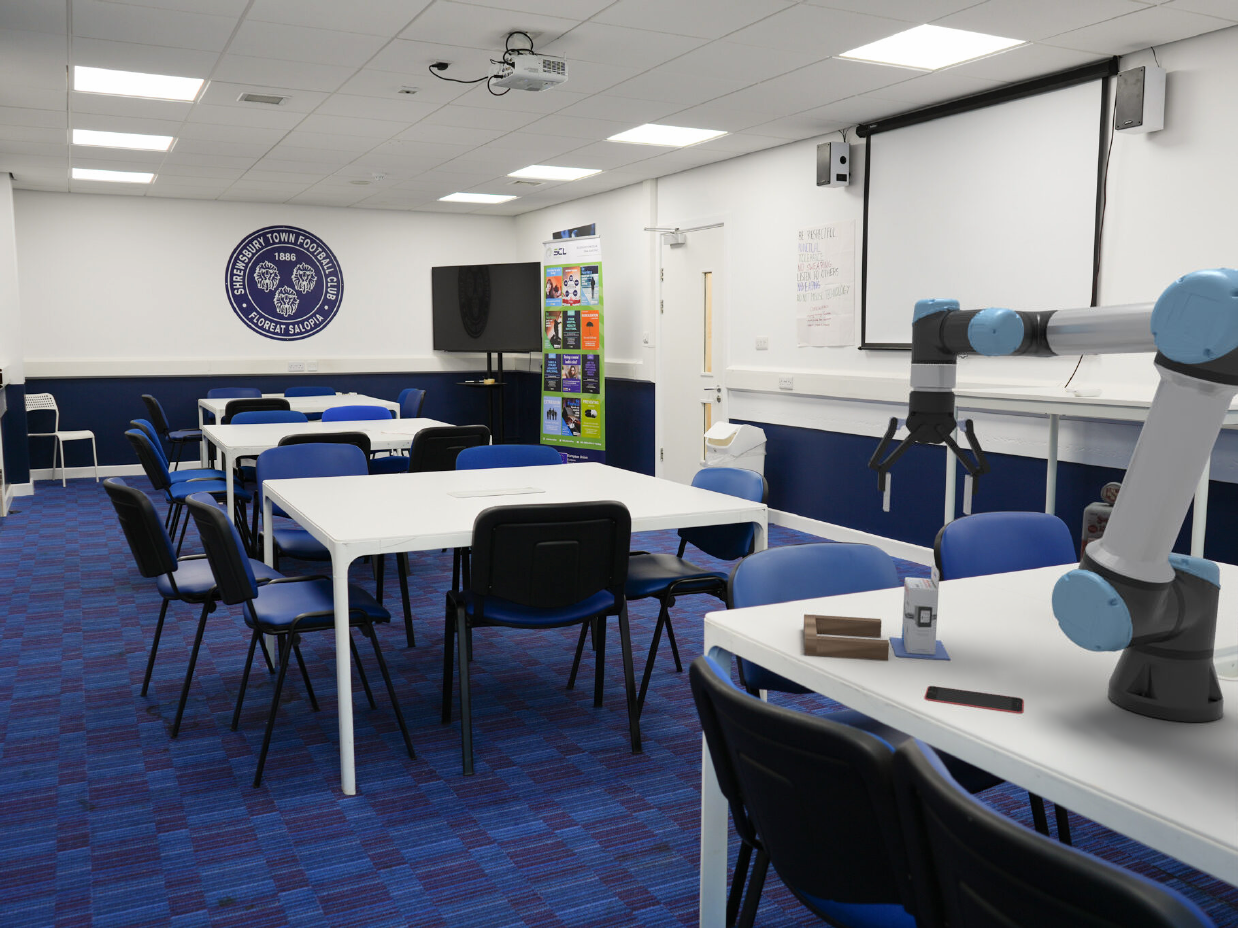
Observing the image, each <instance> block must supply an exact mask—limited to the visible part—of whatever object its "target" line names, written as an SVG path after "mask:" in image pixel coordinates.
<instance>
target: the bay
mask: <svg viewBox="0 0 1238 928" xmlns="http://www.w3.org/2000/svg"><path fill="white" fill-rule="evenodd" d="M819 634H820V635H819ZM829 635H830V636H829ZM831 635H833V636H831ZM835 635H836V636H835ZM843 636H845V637H843ZM847 636H850V637H847ZM858 637H860V638H858ZM862 637H867V638H862ZM881 637H882V619H881V618H873V617H872V618H871V617H869V618H868V617H856V616H855V617H854V616H842V615H841V616H837V615H820V614H808V613H807V614H803V646H804V649H803V650H804V655H805V656H813V657H814V656H815V657H831V658H845V659H858V660H859V659H860V660H874V661H875V660H876V661H889V655H890V654H889V653H890V643H889V640H888V639H875V638H881Z"/></svg>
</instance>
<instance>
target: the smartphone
mask: <svg viewBox="0 0 1238 928" xmlns="http://www.w3.org/2000/svg"><path fill="white" fill-rule="evenodd" d="M923 698H924V700H926V701H928V702H934V703H941V704H948V705H956V706H963V707H969V708H977V709H984V710H990V711H996V712H1004V713H1011V714H1018V715H1022V714H1024V711H1025V709H1024V708H1025V702H1024V701H1025V700H1024V699H1023V698H1021V697H1017V696H1016V697H1015V696H1008V695H1001V694H996V693H995V694H994V693H987V692H980V691H971V690H965V689H957V688H951V687H945V686H943V687H942V686H935V685H929V686H927V687H926V690H925V695H924V697H923Z"/></svg>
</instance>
